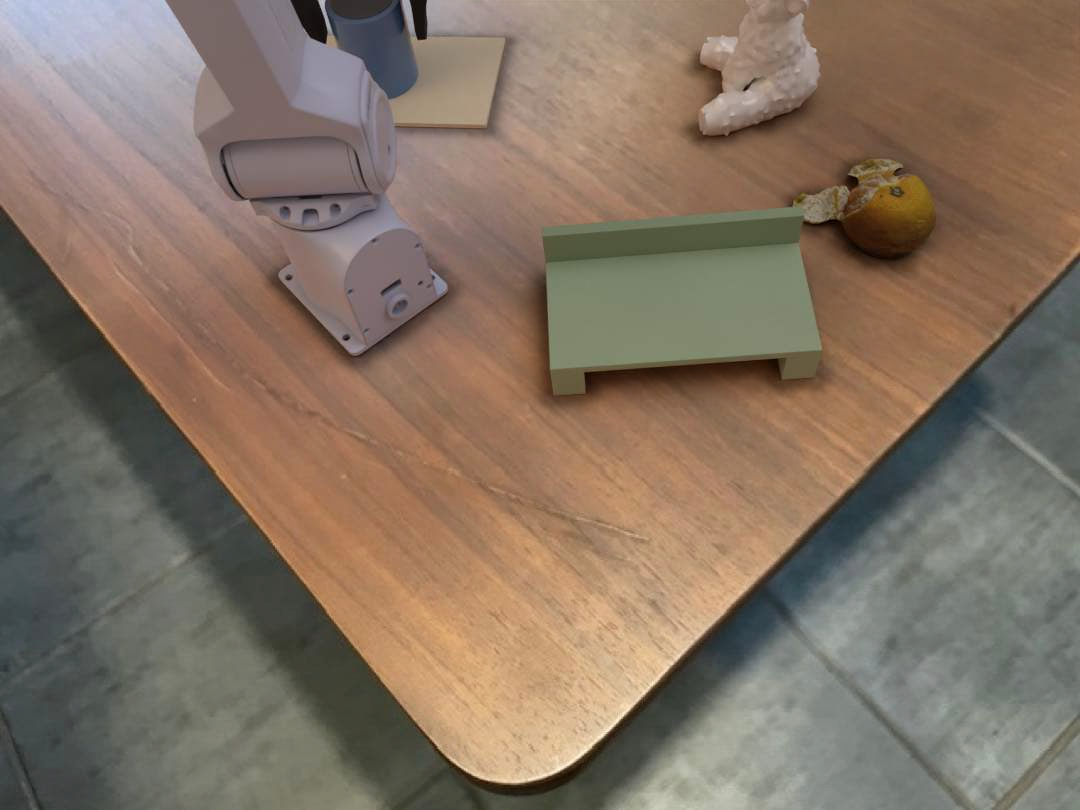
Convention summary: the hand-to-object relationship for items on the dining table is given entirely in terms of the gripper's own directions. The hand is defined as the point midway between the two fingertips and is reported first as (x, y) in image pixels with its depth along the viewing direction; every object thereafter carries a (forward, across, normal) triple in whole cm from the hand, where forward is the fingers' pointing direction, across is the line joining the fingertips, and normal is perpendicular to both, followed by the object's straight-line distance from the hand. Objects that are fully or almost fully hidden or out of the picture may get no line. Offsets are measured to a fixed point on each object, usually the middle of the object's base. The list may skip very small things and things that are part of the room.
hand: (372, 36), depth 73 cm
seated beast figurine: (+4, -28, +5) cm, 29 cm away
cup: (+4, 0, 0) cm, 4 cm away
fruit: (+5, -34, +17) cm, 39 cm away
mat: (+4, 0, 0) cm, 4 cm away
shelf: (+4, -20, +26) cm, 33 cm away
